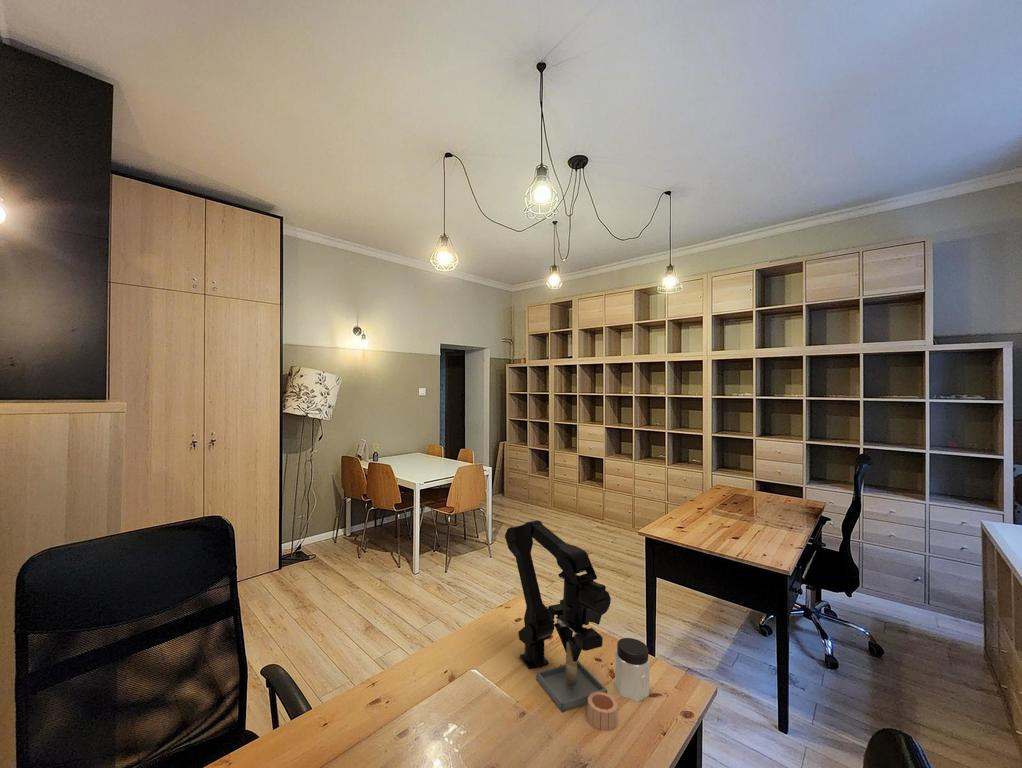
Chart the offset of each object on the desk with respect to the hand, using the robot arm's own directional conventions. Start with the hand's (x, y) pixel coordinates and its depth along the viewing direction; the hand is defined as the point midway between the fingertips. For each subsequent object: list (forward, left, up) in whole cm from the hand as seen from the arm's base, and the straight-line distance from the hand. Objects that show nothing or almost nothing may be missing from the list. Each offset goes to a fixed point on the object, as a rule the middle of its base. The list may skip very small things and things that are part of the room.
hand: (571, 657), depth 110 cm
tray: (0, 0, -8) cm, 9 cm away
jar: (+7, +15, -9) cm, 19 cm away
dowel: (0, 0, -6) cm, 6 cm away
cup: (+12, +1, -8) cm, 15 cm away
